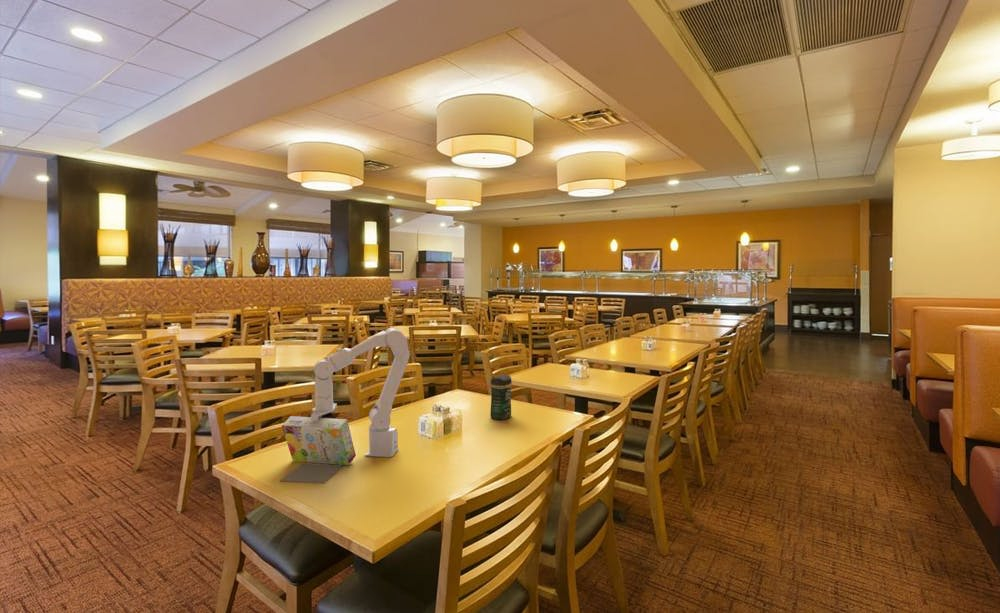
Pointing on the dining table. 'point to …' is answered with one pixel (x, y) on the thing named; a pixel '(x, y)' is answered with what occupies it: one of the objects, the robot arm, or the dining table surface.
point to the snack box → (319, 440)
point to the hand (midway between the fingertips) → (325, 435)
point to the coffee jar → (501, 397)
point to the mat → (311, 473)
